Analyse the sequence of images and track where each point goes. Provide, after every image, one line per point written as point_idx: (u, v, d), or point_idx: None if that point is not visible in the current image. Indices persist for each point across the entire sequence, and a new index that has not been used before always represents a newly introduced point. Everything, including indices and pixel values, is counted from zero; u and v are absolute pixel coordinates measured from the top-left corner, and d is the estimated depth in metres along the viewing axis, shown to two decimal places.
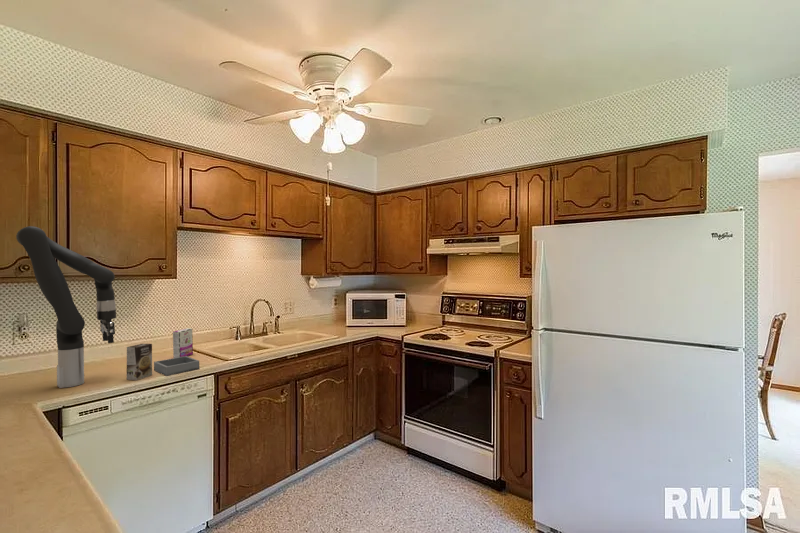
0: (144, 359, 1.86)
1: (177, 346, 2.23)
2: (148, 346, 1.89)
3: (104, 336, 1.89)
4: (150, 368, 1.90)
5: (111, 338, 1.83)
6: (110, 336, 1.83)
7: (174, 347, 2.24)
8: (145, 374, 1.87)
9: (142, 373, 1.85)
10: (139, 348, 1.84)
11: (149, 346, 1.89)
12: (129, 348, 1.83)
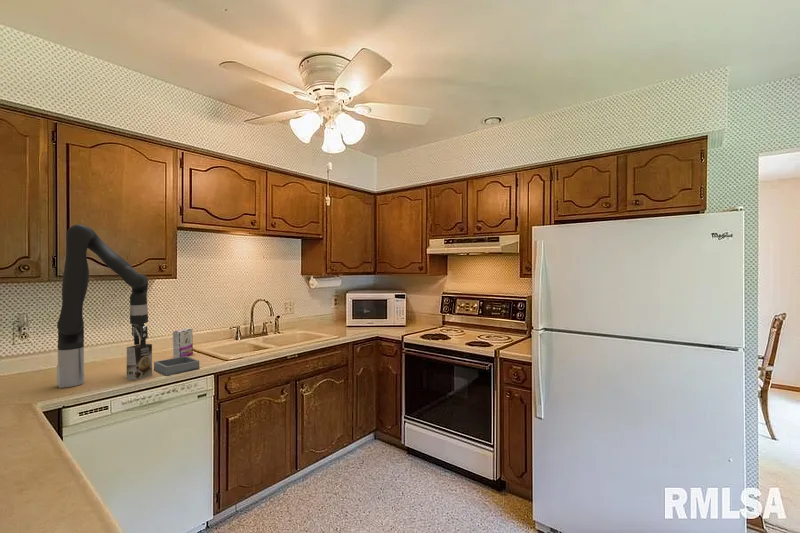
0: (144, 359, 1.86)
1: (177, 346, 2.23)
2: (148, 346, 1.89)
3: (135, 340, 1.89)
4: (150, 368, 1.90)
5: (143, 342, 1.84)
6: (143, 340, 1.84)
7: (174, 347, 2.24)
8: (145, 374, 1.87)
9: (142, 374, 1.85)
10: (139, 348, 1.84)
11: (149, 346, 1.89)
12: (129, 348, 1.83)
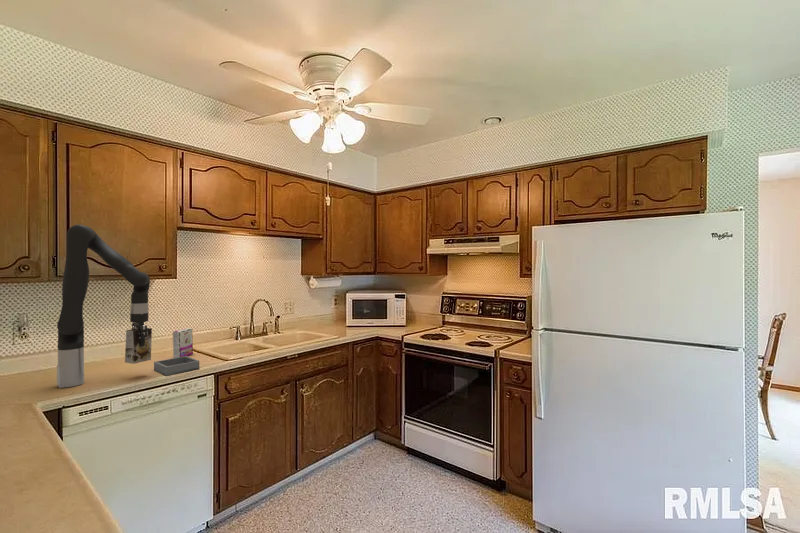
0: None
1: (177, 346, 2.23)
2: (147, 330, 1.88)
3: None
4: (149, 353, 1.89)
5: (142, 341, 1.84)
6: (142, 339, 1.84)
7: (174, 347, 2.24)
8: (143, 358, 1.86)
9: (140, 357, 1.85)
10: (137, 332, 1.83)
11: (148, 330, 1.89)
12: (128, 331, 1.83)
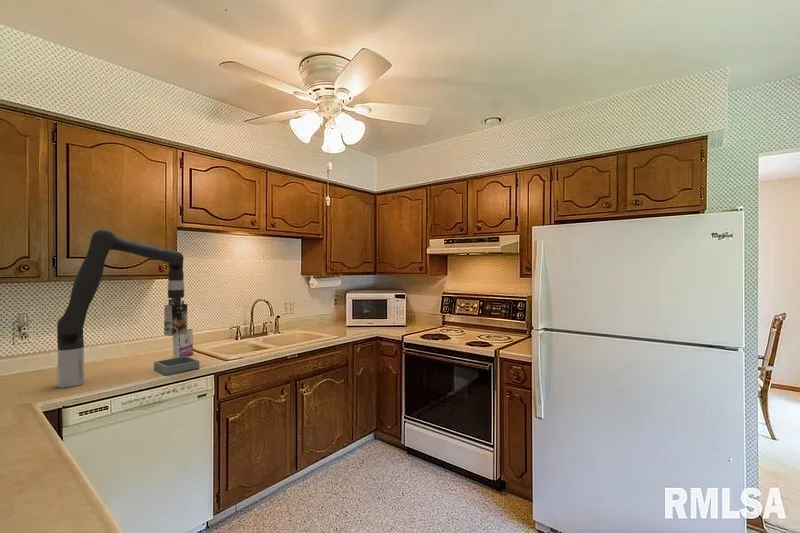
0: None
1: (177, 346, 2.23)
2: None
3: None
4: (185, 326, 2.02)
5: (180, 315, 1.97)
6: (179, 313, 1.97)
7: (174, 347, 2.24)
8: (180, 331, 1.99)
9: (178, 330, 1.98)
10: (175, 306, 1.96)
11: (184, 306, 2.02)
12: (166, 306, 1.96)
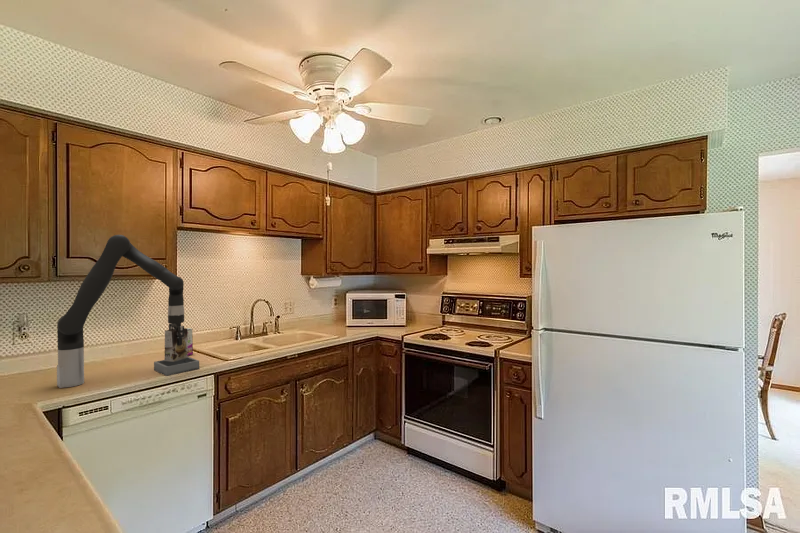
0: None
1: None
2: (184, 330, 2.01)
3: None
4: (185, 351, 2.03)
5: (180, 341, 1.97)
6: (179, 339, 1.97)
7: None
8: (181, 356, 2.00)
9: (178, 356, 1.98)
10: (175, 332, 1.97)
11: (185, 330, 2.02)
12: (167, 332, 1.97)
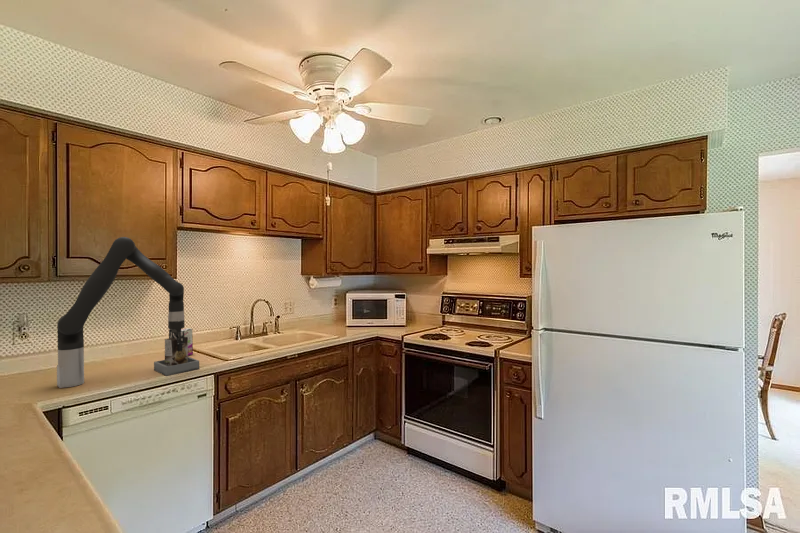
0: None
1: None
2: None
3: None
4: (186, 360, 2.02)
5: (180, 346, 1.97)
6: (180, 345, 1.97)
7: None
8: None
9: None
10: (175, 340, 1.96)
11: (185, 339, 2.02)
12: (167, 340, 1.97)
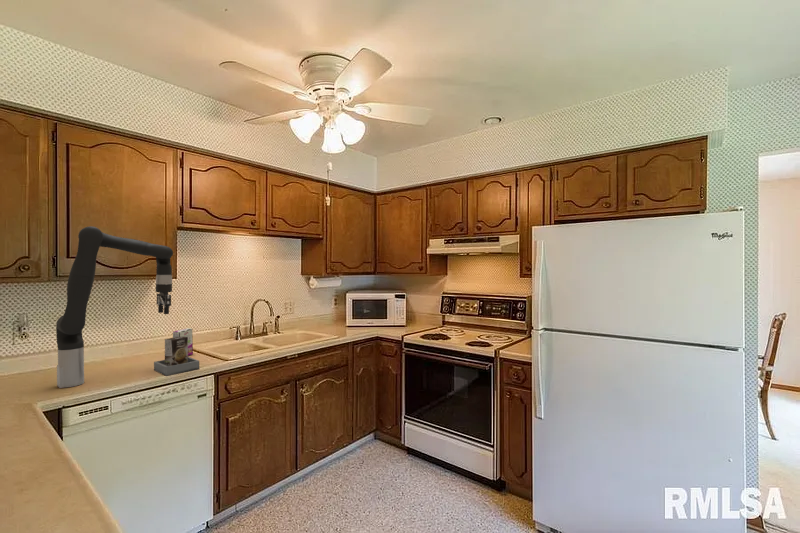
0: (180, 350, 1.99)
1: None
2: (184, 339, 2.01)
3: (159, 308, 2.04)
4: (186, 360, 2.02)
5: (167, 309, 1.98)
6: (166, 307, 1.98)
7: None
8: None
9: None
10: (175, 340, 1.96)
11: (185, 339, 2.02)
12: (167, 340, 1.97)
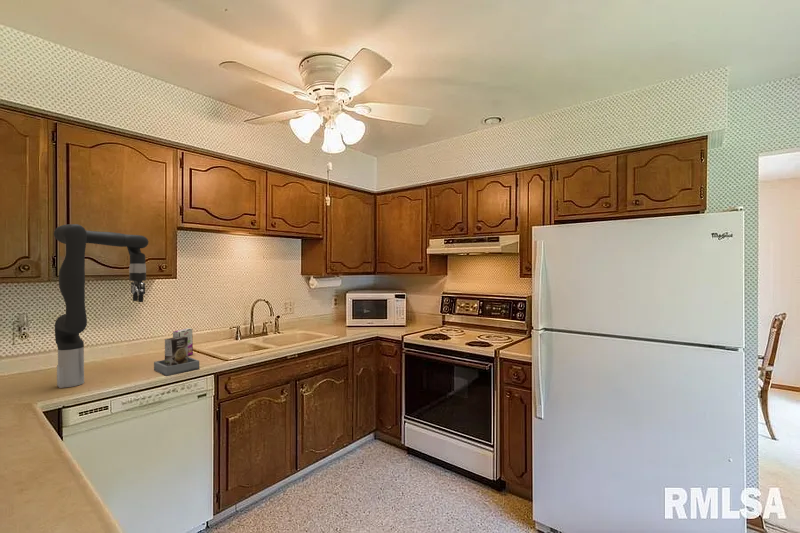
0: (180, 350, 1.99)
1: None
2: (184, 339, 2.01)
3: (134, 297, 2.08)
4: (186, 360, 2.02)
5: (141, 297, 2.02)
6: (140, 295, 2.02)
7: None
8: None
9: None
10: (175, 340, 1.96)
11: (185, 339, 2.02)
12: (167, 340, 1.97)
